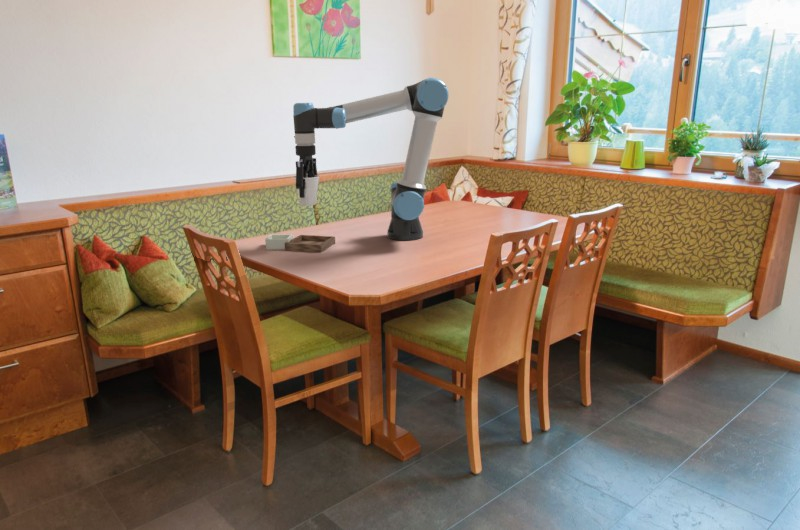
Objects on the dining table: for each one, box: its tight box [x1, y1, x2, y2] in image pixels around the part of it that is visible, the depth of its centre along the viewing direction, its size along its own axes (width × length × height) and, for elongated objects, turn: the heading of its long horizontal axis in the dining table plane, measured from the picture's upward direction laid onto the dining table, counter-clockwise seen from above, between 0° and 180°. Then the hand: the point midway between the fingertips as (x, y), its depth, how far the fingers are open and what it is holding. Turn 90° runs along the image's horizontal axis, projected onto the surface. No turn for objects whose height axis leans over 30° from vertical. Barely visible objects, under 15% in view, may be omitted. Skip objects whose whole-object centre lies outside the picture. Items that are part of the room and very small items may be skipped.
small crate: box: [264, 233, 294, 251], centre depth 240 cm, size 9×9×4 cm
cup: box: [293, 174, 320, 207], centre depth 235 cm, size 10×10×11 cm
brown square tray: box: [284, 234, 336, 253], centre depth 240 cm, size 15×15×3 cm
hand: (308, 203), depth 236 cm, fingers closed on cup, 8 cm apart
